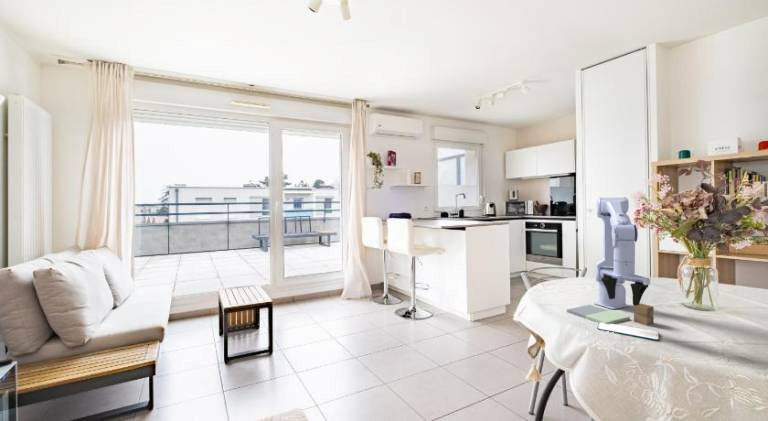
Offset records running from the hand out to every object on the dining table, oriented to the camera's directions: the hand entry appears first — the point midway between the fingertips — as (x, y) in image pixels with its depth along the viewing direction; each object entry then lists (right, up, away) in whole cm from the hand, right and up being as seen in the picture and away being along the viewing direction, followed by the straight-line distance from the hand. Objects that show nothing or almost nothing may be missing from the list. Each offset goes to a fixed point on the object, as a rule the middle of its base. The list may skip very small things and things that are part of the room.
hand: (623, 301), depth 111 cm
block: (+11, -9, +6) cm, 16 cm away
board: (0, -9, +14) cm, 17 cm away
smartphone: (+1, -10, -1) cm, 10 cm away
